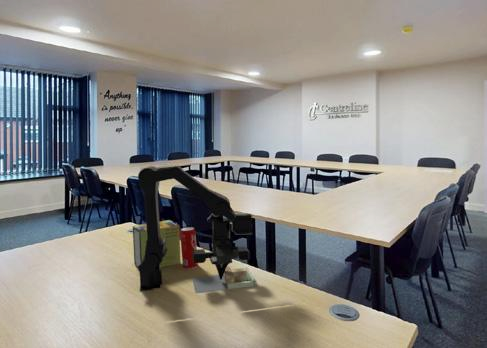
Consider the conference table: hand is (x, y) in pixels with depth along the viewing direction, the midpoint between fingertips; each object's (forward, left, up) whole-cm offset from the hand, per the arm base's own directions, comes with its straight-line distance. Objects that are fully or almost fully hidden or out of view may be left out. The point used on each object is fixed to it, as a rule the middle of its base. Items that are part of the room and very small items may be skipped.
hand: (220, 279), depth 113 cm
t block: (+5, 0, -1) cm, 5 cm away
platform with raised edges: (+1, 0, -1) cm, 2 cm away
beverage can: (-9, +17, -2) cm, 19 cm away
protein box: (-21, +23, -2) cm, 32 cm away
